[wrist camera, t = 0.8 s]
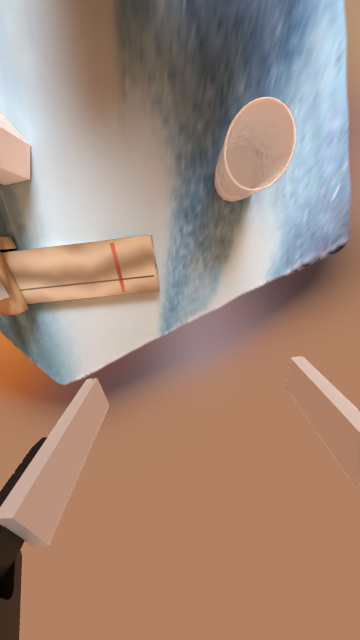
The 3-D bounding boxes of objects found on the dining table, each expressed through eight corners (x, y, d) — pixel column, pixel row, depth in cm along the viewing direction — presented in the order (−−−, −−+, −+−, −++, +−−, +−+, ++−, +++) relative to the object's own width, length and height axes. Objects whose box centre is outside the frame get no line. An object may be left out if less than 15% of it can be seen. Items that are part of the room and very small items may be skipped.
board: (-20, 255, 33) (-32, 256, 32) (151, 235, 32) (149, 235, 30) (7, 303, 38) (-2, 307, 36) (159, 288, 36) (158, 290, 34)
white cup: (254, 205, 30) (287, 189, 21) (209, 207, 30) (221, 192, 21) (262, 144, 26) (304, 94, 17) (211, 147, 27) (226, 98, 17)
